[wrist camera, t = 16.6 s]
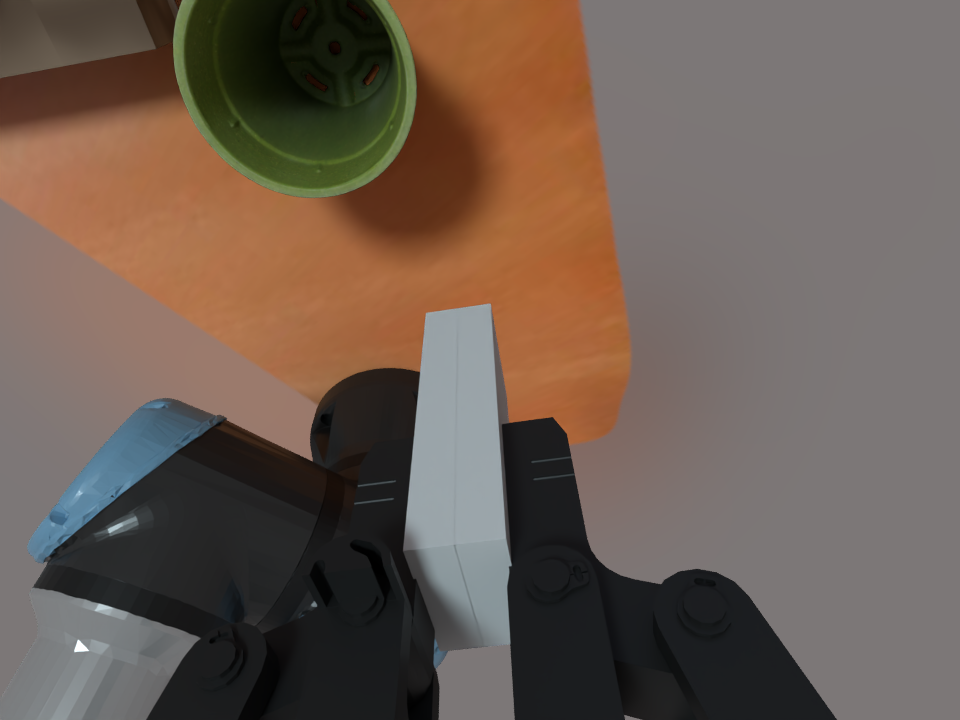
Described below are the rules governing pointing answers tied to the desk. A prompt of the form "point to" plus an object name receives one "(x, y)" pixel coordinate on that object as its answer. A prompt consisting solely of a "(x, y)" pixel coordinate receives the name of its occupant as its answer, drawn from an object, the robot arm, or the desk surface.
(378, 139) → the plant pot
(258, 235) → the desk surface
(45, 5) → the socket block
